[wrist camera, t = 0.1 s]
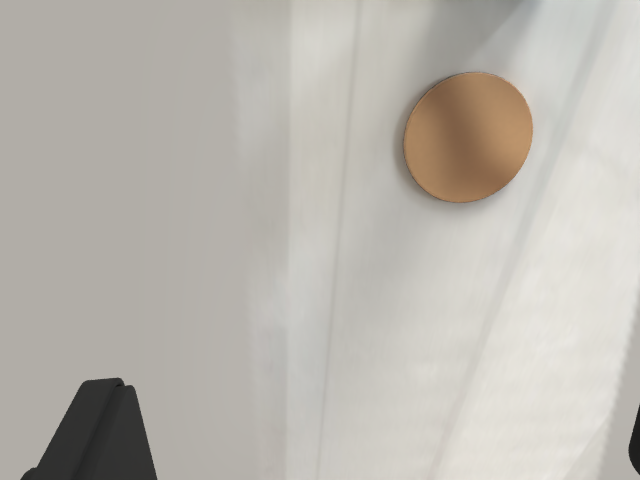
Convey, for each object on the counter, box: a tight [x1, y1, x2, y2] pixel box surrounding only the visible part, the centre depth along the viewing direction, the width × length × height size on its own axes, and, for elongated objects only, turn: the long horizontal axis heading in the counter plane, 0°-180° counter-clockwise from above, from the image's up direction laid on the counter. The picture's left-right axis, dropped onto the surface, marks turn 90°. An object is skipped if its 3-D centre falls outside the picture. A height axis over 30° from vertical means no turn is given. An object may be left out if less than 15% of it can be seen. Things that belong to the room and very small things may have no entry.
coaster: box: [404, 72, 533, 203], centre depth 39 cm, size 10×10×1 cm
